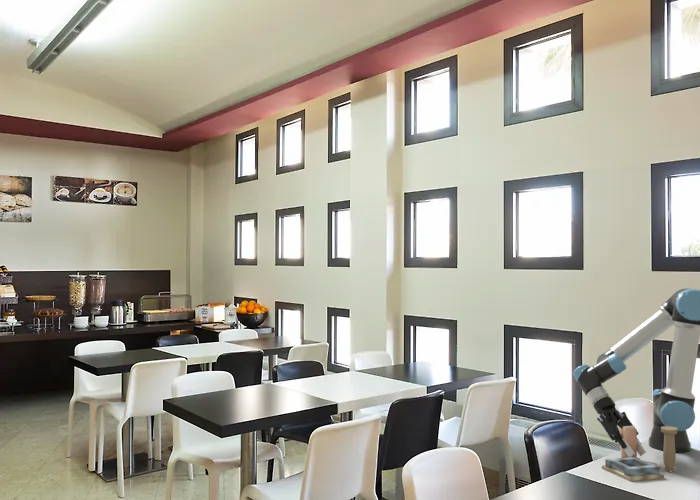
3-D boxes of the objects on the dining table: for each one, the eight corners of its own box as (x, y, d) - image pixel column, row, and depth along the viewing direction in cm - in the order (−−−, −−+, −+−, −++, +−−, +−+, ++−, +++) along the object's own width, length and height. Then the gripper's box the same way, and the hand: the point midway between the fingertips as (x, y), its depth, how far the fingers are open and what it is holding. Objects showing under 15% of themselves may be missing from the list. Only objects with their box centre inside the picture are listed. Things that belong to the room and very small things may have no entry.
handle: (680, 470, 216) (680, 428, 216) (672, 474, 212) (672, 430, 212) (666, 467, 220) (666, 425, 220) (658, 470, 216) (658, 427, 216)
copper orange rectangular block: (629, 458, 230) (629, 424, 230) (640, 462, 225) (639, 427, 225) (618, 459, 228) (618, 425, 229) (628, 463, 223) (628, 428, 224)
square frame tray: (634, 465, 221) (634, 455, 221) (664, 477, 208) (664, 467, 208) (601, 468, 217) (601, 458, 217) (630, 481, 204) (629, 470, 204)
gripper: (612, 404, 245) (648, 457, 229) (579, 408, 237) (614, 463, 221) (623, 393, 240) (660, 446, 225) (589, 397, 232) (626, 452, 217)
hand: (637, 454), depth 223 cm, fingers closed on copper orange rectangular block, 5 cm apart
